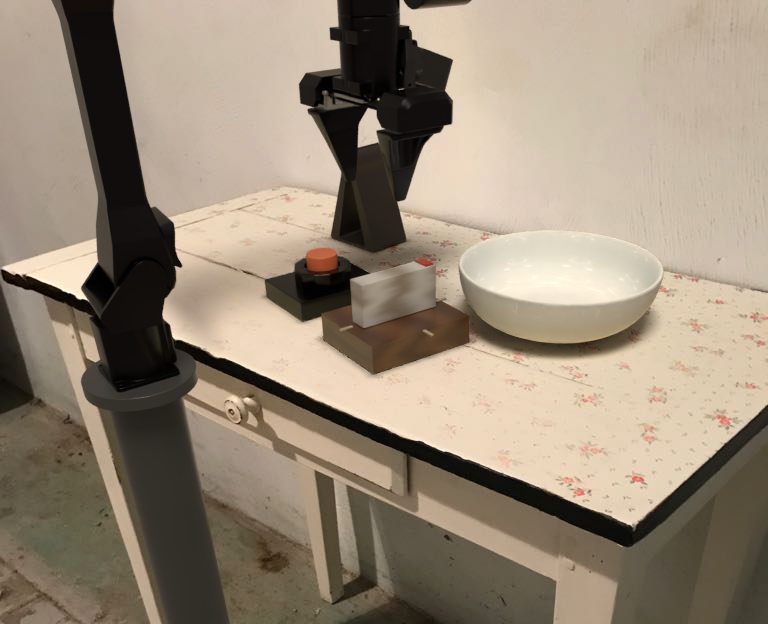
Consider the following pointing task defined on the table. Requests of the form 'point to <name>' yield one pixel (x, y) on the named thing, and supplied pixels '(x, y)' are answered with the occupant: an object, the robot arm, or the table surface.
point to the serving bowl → (559, 284)
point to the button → (321, 259)
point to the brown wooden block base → (396, 336)
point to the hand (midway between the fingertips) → (374, 190)
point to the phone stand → (368, 206)
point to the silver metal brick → (393, 293)
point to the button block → (313, 289)
